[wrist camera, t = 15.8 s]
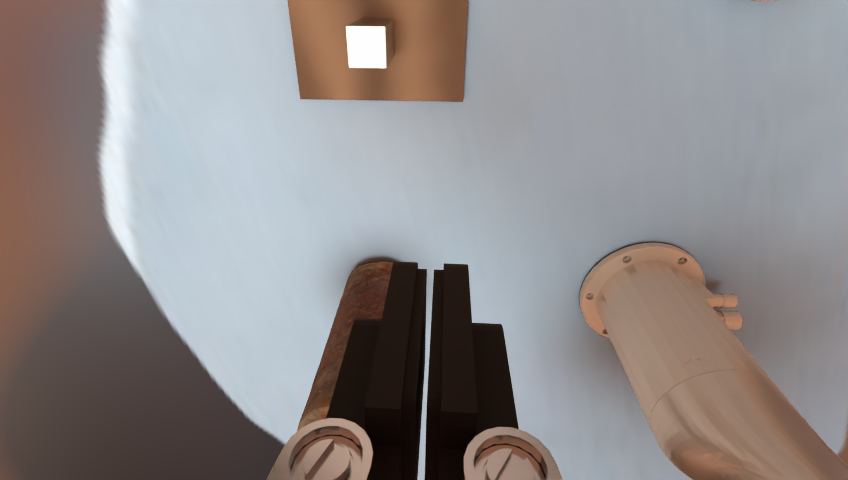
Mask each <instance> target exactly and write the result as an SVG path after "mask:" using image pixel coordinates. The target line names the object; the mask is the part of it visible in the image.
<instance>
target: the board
mask: <svg viewBox="0 0 848 480" xmlns="http://www.w3.org/2000/svg"><path fill="white" fill-rule="evenodd" d="M288 7H289V15H290V22H291V30H292V38H293V45H294V53H295V61H296V68H297V76H298V83H299V91H300V99H330V100H391V101H452V102H463V93H464V73H465V53H466V33H467V14H468V0H288ZM361 18H370V19H395V56H394V57H393V59H392V60H391V62H390V63H389V65H388V67H387V68H349V61H348V48H347V34H346V26H347V25H349V24H351V23H353V22H355V21H357V20H359V19H361Z"/></svg>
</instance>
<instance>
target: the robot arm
mask: <svg viewBox="0 0 848 480" xmlns="http://www.w3.org/2000/svg"><path fill="white" fill-rule="evenodd" d="M426 281H427V269H418V263H415V262H393V266H392V271H391V275H390V280H389V285H388V290H387V295H386V300H385V305H384V310H383V315H382V319H372V318H356V319H355V320H354V323H353V325H352V329H351V332H350V336H349V339H348V343H347V346H346V350H345V353H344V357H343V360H342V364H341V368H340V371H339V375H338V378H337V382H336V385H335V389H334V392H333V396H332V399H331V403H330V406H329V410H328V413H327V417H326V419H323V420H318V421H315V422H313V423H311V424H308V425H306V426H304V427H302V428H301V429H300V430H299V431H298V432H296V433H295V434H294V435H293V436H292V437H291V438H290V439H289V441H288V442H287V444H286V445H285V446H284V448H283V450H282V451H281V453H280V455H279V457H278V459H277V461H276V463H275V465H274V466H273V468H272V470H271V472H270V474H269V476H268V478H267V480H417V476H418V460H419V445H420V430H421V414H422V399H423V384H424V367H425V329H426ZM579 303H580V307H581V311H582V313H583V316H584V318H585V320H586V322H587V323H588V325H589V326H590V327H591V328H592V329H593V330H594V331H596V332H597V333H599V334H600V335H602V336H604V337H607V338H610V340H611V342H612V344H613V346H614V348H615V351H616V353H617V355H618V357H619V359H620V362H621V364H622V366H623V368H624V370H625V372H626V375H627V377H628V379H629V381H630V383H631V385H632V388H633V390H634V392H635V394H636V396H637V398H638V401H639V403H640V405H641V407H642V409H643V412H644V414H645V416H646V418H647V420H648V422H649V425H650V427H651V429H652V431H653V433H654V435H655V437H656V440H657V442H658V444H659V446H660V447H661V449H662V451H663V452H664V453H665V455H666V456H667V458H668V459H669V460H670V461H671V462H672V463H673V464H674V465H675V466H676V467H677V468H678V469H679V470H680V471H682V472H683V473H684V474H686V475H687V476H688V477H690V478H691V479H693V480H848V466H847V465H846V464H845V463H844V462H843V461H842V460H841V459H840V458H839V457H838V456H837V455H836V454H835V453H834V452H833V451H832V450H831V449H830V448H829V447H828V446H827V445H826V443H825V442H824V441H823V440H822V439H821V438H820V437H819V435H818V434H817V433H816V432H815V431H814V430H813V429H812V427H811V426H810V425H809V424H808V423H807V422H806V420H805V419H804V418H803V417H802V416H801V415H800V414H799V412H798V411H797V410H796V409H795V408H794V407H793V405H792V404H791V403H790V402H789V401H788V399H787V398H786V397H785V396H784V394H783V393H782V392H781V391H780V390H779V388H778V387H777V386H776V385H775V384H774V383H773V382H772V380H771V379H770V378H769V377H768V375H767V374H766V373H765V372H764V370H763V369H762V368H761V367H760V366H759V364H758V363H757V362H756V361H755V359H754V358H753V357H752V356H751V354H750V353H749V352H748V351H747V350H746V348H745V347H744V346H743V345H742V343H741V342H740V341H739V340H738V339H737V337H736V336H735V335H734V334H733V332H732V331H731V330H738V329H740V328H741V326H742V322H743V321H742V317H741V315H740V313H738V312H737V311H717V312H716V311H715V310H714V309H713V307H725V308H734V307H736V306H737V303H738V301H737V297H736V295H734V294H713V293H712V292H710V291H709V290H708V289H707V288H706V287H705V277H704V274H703V270H702V269H701V267H700V266H699V264H698V263H697V262H696V261H695V259H694V258H693V257H692V256H691V255H690V254H688V253H687V252H685V251H684V250H682V249H680V248H678V247H675V246H673V245H668V244H663V243H643V244H636V245H633V246H629V247H625V248H623V249H621V250H618V251H616V252H614V253H612V254H611V255H609V256H607V257H606V258H604V259H603V260H602V261H600V262H599V263H598V264H597V265H596V266H595V267H594V268H593V269H592V270H591V271H590V273H589V274H588V275H587V277H586V279H585V281H584V282H583V284H582V288H581V291H580V300H579ZM425 480H562V477H561V475H560V472H559V469H558V467H557V464H556V462H555V460H554V458H553V457H552V455H551V453H550V451H549V450H548V449H547V448H546V447H545V446H544V445H543V444H542V443H541V442H540V441H539V440H538V439H537V438H535V437H533V436H532V435H530V434H529V433H527V432H525V431H522V430H519V429H518V422H517V416H516V410H515V403H514V397H513V390H512V384H511V377H510V371H509V364H508V358H507V352H506V345H505V339H504V332H503V327H502V325H501V324H486V323H472V318H471V302H470V287H469V272H468V265H466V264H444V270H434V283H433V302H432V321H431V339H430V358H429V376H428V395H427V419H426V458H425Z"/></svg>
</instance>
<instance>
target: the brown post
mask: <svg viewBox="0 0 848 480" xmlns="http://www.w3.org/2000/svg"><path fill="white" fill-rule="evenodd" d="M346 34H347V48H348V61H349V68H387V67H388V65H389V63H390V62H391V60H392V59H393V57H394V56H395V19H370V18H361V19H359V20H357V21H355V22H353V23H351V24H349V25H347V26H346Z"/></svg>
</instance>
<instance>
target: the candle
mask: <svg viewBox="0 0 848 480" xmlns="http://www.w3.org/2000/svg"><path fill="white" fill-rule="evenodd" d="M392 266H393V262H390V263H389V262H385V261H382V262H376V263H368V264H365V265H361V266H359V267H357V268H356V269H354V271H353V272H352V273H351V275H350V276H349V278H348V281H347V283H346V287H345V289H344V292H343V295H342V298H341V301H340V304H339V307H338V310H337V313H336V316H335V319H334V322H333V325H332V329H331V331H330V335H329V338H328V341H327V343H326V346H325V349H324V352H323V356H322V359H321V362H320V365H319V368H318V370H317V373H316V376H315V379H314V382H313V385H312V389H311V392H310V395H309V398H308V401H307V403H306V406H305V409H304V412H303V414H302V417H301V420H300V423H299V426H298V429H297V432H298V431H299V430H300V429H301V428H302V427H304V426H306V425H308V424H311V423H313V422H315V421H318V420H323V419H326V417H327V413H328V410H329V406H330V403H331V399H332V396H333V392H334V389H335V385H336V382H337V378H338V375H339V371H340V368H341V364H342V360H343V357H344V353H345V350H346V346H347V343H348V339H349V336H350V332H351V329H352V325H353V323H354V320H355V319H356V318H372V319H382V315H383V310H384V305H385V300H386V295H387V290H388V285H389V280H390V275H391V271H392Z"/></svg>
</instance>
